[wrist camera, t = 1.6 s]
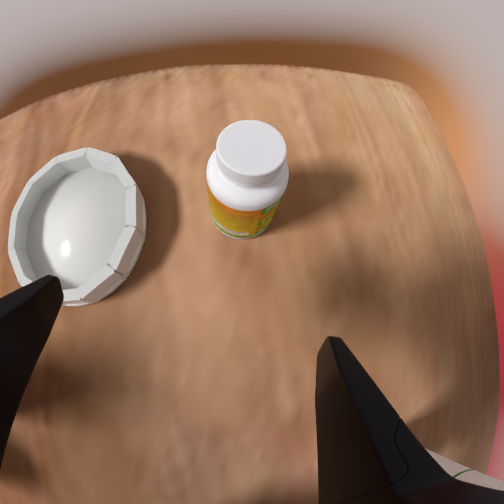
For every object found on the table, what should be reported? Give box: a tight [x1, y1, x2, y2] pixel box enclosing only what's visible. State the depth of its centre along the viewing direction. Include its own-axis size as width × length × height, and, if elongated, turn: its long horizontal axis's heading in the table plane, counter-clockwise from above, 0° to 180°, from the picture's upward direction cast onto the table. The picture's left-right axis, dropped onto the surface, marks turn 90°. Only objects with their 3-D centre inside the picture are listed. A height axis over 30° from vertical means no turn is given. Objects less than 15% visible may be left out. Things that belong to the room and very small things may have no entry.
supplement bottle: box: [207, 120, 289, 239], centre depth 20 cm, size 5×5×10 cm
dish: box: [8, 147, 147, 306], centre depth 21 cm, size 14×14×3 cm
